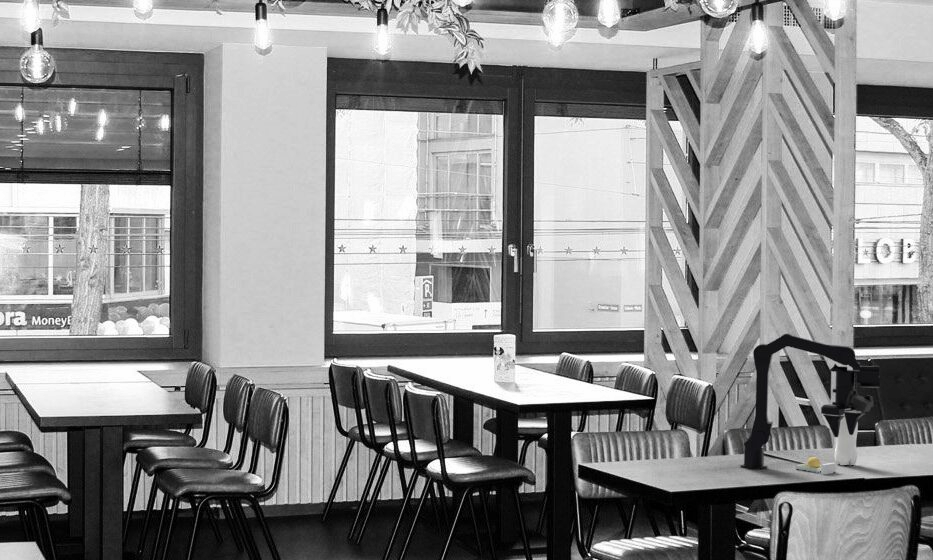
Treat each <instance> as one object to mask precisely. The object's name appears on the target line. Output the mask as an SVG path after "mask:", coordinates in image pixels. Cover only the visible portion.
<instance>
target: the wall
mask: <svg viewBox="0 0 933 560" xmlns="http://www.w3.org/2000/svg"><path fill="white" fill-rule="evenodd" d="M820 465H821V472H820V473H821V475H823V474H825V475H829V474H828V473H830V474H833V473H832V472H836V473H837V468H836V467H837V463H836V462H829V463H828V462H827V463H823V464H820Z"/></svg>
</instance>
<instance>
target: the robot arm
mask: <svg viewBox="0 0 933 560" xmlns="http://www.w3.org/2000/svg"><path fill="white" fill-rule="evenodd" d="M788 347H789V348H793V349H797V350H801V351H804V352H809V353H812V354H816V355H819V356H823V357H826V358H827V359H829V360H831V361H833V362H836V363H834V365H833V366H832V367H830V368H829V372H835V388H833V389H832V393H834V394H835V396H834V397H835V398H834V399H835V400H834V401H832V404H831V403H829V404H823V405H822V406H821V407H820V414H822V416H823V417H824V418H825V420H826V422H827V424H828V425H829V428H830V430H831V432H832V434H833V437H834V438H836V437H838V435H839V429H840V421H841V420H842V419H843V418H844V417H845V419H846V423H847V428H848V432H849V434H850V435H853V433H854V431H855V428H856V425H857V422H858V421H859V419H860V418H861V417H862V416H864V415H866V413H867V412H868V413H869V412H870V410H871V408H873V407H875V404H874V397H873V396H871V395H869V394H867V395H865V396H862V395H859V391H858V390H857V389H855V386H856V385H857V384H859V385H860V388H870V389H871V388H874V389H880V385H881V384H880V383H881V382H880V379H881V377H880V366H879V365H871V366H870V365H869V366H868V365H861V363H860V362H859V360H858V359H857V358H856V351H855V350H854V349H853V348H852V347H851V346H849V345H840V344H839V345H838V344H828V343H827V344H826V343H822V342H819V341H815V340H810V339H807V338H803V337H799V336H796V335H792V334H791V333H784V334H782V335H781V336H780V337H778V338H776V339H774V340H772V341H771V342H769V343H761V344H758V345H757V346H756V347H755V348H754V349H753V350H752V351H753V352H752V355H753V361H754V362H753V363H754V367H755V373H756V378H755V381H756V383H755V384H756V385H755V411H754V412H755V413H754V414H755V415H754V420H753V423H752V429H751V432H750V436H749V437H748V438H746V440H745V441H744V443H743V445H744V450H743V451H744V453H743V457H744V459H743V464H739V467H740V466H741V467H740V468H745V467H746V468H747V469H751V468H753V470H761V469H760V468H762V469H767V468H768V465H764V463H765V462H764V461H765V460H764V459H765V452H764V451H765V450H764V447H763V446H764V445H766V444H767V443H769V441H770V439H771V437H772V436H773V435H774V433H773V424H774V421H769V416H768V411H769V410H768V406H769V404H768V403H769V376H770V375H769V373H770V369H771V365H772V360H773V356H774V354H775V353H778V352H779V351H781V350H783V349H785V348H788ZM837 363H838V364H840V365H842V366H839V365H838V364H837ZM848 366H849V367H850V368H852V369H848ZM855 377H856V378H855ZM855 381H856V382H855ZM856 383H857V384H856ZM845 411H847V412H845ZM843 414H844V415H845V416H841V415H843ZM766 467H767V468H766Z"/></svg>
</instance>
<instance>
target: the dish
mask: <svg viewBox="0 0 933 560" xmlns="http://www.w3.org/2000/svg"><path fill="white" fill-rule="evenodd" d="M821 465H822V464H820V467H819V468H813V467H808V465H807V462H806V463H801V464H795V470H796V469H799V470H798V471H802V470H806V471H805V472H808V471H813V472H812V473H815V472H819V473H821V472H820V471H821Z"/></svg>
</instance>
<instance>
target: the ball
mask: <svg viewBox="0 0 933 560" xmlns="http://www.w3.org/2000/svg"><path fill="white" fill-rule="evenodd" d="M806 463H807V465H808V467H813V468H819V467H820V465H821V461H820V459H819V458H818V457H814V456H812V457H809V459H807V462H806Z"/></svg>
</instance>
